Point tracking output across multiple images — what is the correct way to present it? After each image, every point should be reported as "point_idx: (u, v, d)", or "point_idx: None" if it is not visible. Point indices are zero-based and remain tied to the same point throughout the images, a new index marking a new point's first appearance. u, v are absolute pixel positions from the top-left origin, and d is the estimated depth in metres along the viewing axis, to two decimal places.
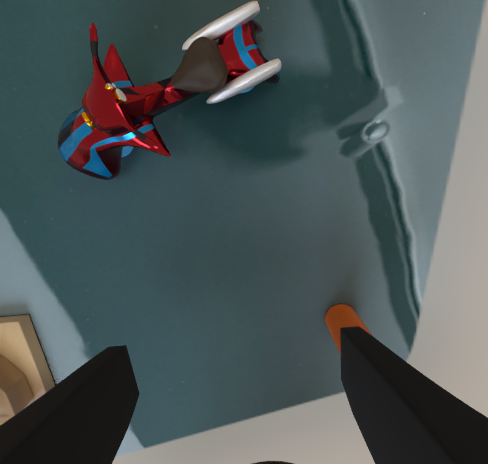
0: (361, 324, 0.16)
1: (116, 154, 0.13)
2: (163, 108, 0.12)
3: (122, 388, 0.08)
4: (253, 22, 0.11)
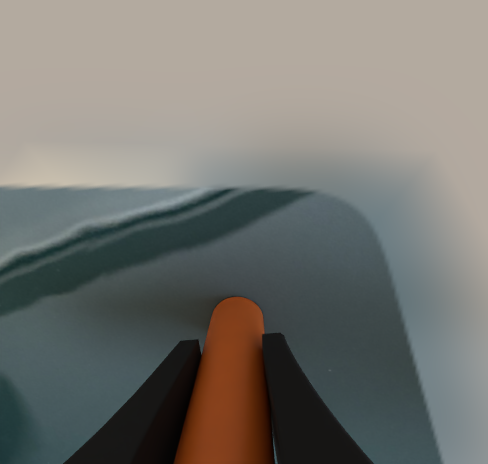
0: (204, 345, 0.09)
1: None
2: None
3: None
4: None
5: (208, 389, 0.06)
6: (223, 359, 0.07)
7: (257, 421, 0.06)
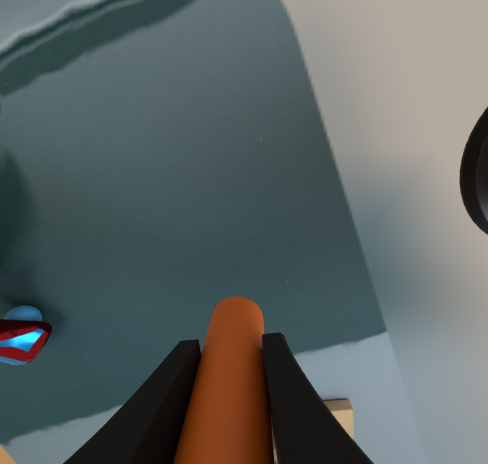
0: (204, 345, 0.09)
1: (7, 326, 0.15)
2: None
3: None
4: None
5: (208, 389, 0.06)
6: (223, 359, 0.07)
7: (257, 421, 0.06)
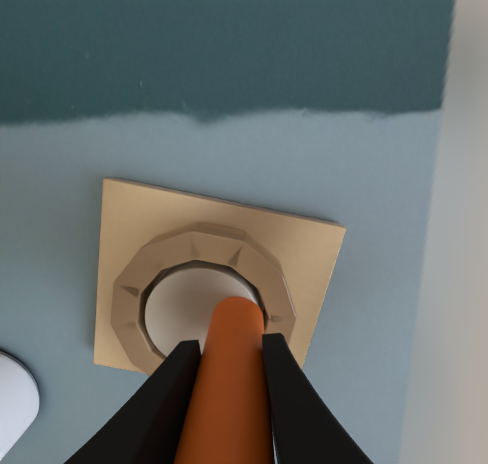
0: (204, 345, 0.09)
1: None
2: None
3: None
4: None
5: (208, 389, 0.06)
6: (223, 359, 0.07)
7: (257, 422, 0.06)
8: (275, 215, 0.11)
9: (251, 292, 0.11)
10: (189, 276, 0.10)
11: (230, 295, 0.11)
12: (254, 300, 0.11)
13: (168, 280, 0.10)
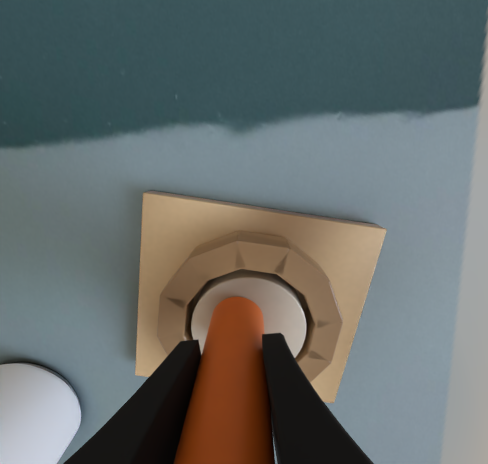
0: (204, 345, 0.09)
1: None
2: None
3: None
4: None
5: (208, 389, 0.06)
6: (223, 359, 0.07)
7: (257, 422, 0.06)
8: (315, 220, 0.11)
9: (296, 298, 0.11)
10: (235, 285, 0.10)
11: (276, 302, 0.11)
12: (300, 306, 0.11)
13: (214, 290, 0.10)
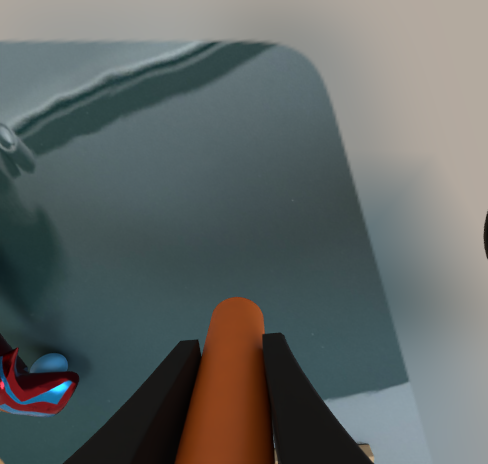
0: (204, 346, 0.09)
1: (38, 381, 0.15)
2: None
3: None
4: None
5: (208, 390, 0.06)
6: (223, 360, 0.07)
7: (258, 422, 0.06)
8: None
9: None
10: None
11: None
12: None
13: None
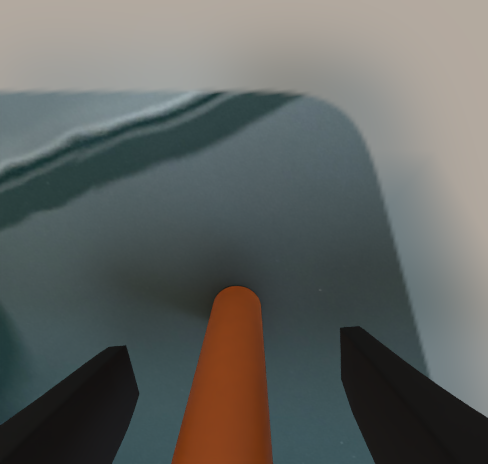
0: (207, 328, 0.10)
1: None
2: None
3: (122, 388, 0.08)
4: None
5: (212, 360, 0.07)
6: (224, 336, 0.08)
7: (255, 385, 0.07)
8: None
9: None
10: None
11: None
12: None
13: None
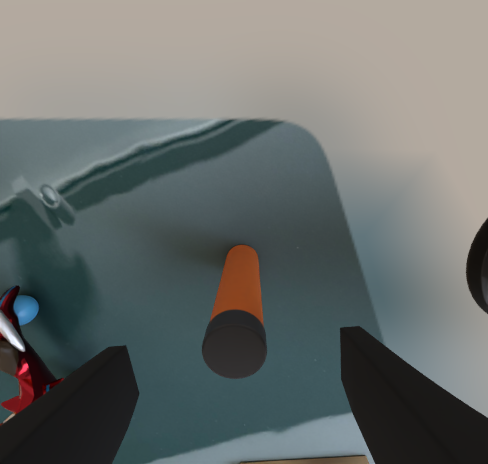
0: (224, 265, 0.15)
1: None
2: (34, 377, 0.17)
3: (122, 388, 0.08)
4: None
5: (230, 272, 0.13)
6: (236, 264, 0.14)
7: (253, 281, 0.12)
8: None
9: None
10: None
11: None
12: None
13: None
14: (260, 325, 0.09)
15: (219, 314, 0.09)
